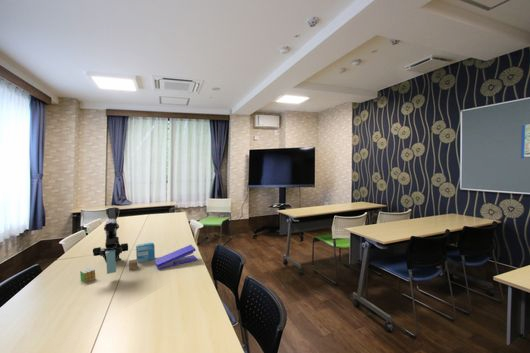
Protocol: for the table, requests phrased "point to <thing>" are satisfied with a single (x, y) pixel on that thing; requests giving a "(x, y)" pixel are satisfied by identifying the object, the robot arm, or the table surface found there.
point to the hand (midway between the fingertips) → (111, 262)
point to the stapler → (176, 258)
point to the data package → (145, 252)
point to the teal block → (111, 261)
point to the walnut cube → (133, 264)
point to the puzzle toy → (87, 274)
